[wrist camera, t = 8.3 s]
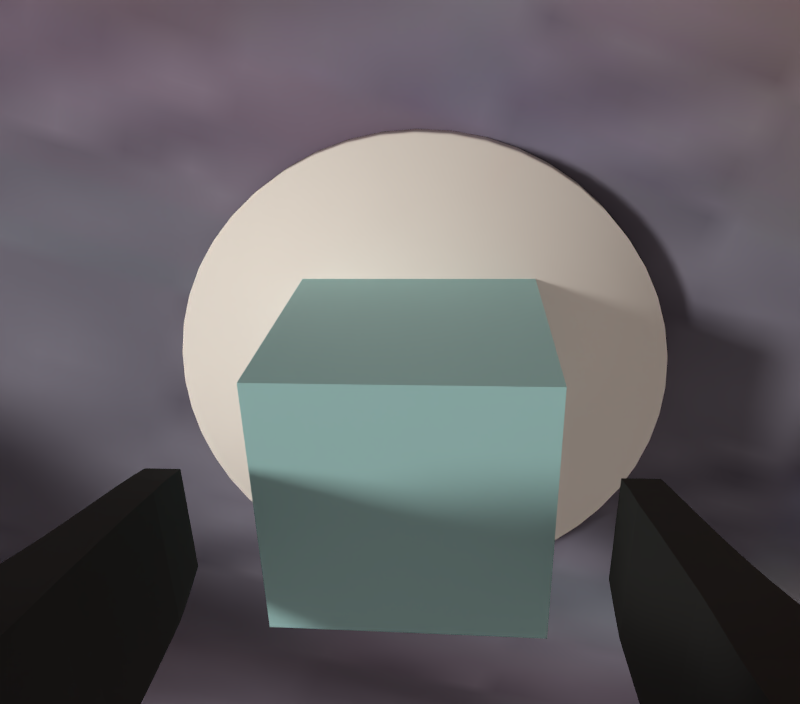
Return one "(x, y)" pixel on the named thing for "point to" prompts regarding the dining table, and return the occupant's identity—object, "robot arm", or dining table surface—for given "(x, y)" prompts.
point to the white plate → (441, 259)
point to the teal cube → (407, 456)
